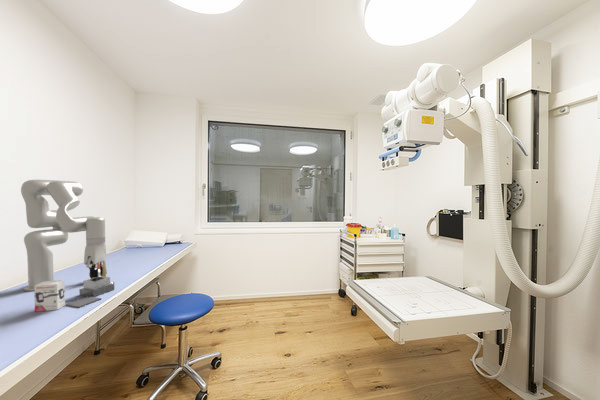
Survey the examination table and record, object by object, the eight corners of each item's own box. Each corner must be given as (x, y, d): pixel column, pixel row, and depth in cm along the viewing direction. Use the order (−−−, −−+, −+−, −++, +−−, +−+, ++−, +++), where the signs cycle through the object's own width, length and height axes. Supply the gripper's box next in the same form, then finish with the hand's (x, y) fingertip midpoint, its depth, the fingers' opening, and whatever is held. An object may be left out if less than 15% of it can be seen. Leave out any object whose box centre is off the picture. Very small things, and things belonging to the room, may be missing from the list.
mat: (66, 305, 108) (65, 304, 108) (88, 297, 116) (88, 296, 116) (79, 308, 105) (79, 306, 105) (101, 299, 114) (101, 298, 114)
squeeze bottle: (109, 279, 142) (108, 249, 141) (92, 283, 135) (91, 252, 135) (104, 276, 146) (103, 248, 146) (87, 281, 139) (86, 251, 139)
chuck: (79, 295, 119) (79, 281, 119) (106, 285, 131) (106, 273, 131) (93, 297, 116) (92, 283, 116) (119, 287, 128) (119, 274, 128)
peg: (91, 282, 120) (91, 262, 120) (95, 280, 123) (95, 261, 123) (98, 281, 121) (97, 262, 121) (101, 279, 124) (101, 260, 124)
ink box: (34, 312, 102) (33, 285, 101) (43, 307, 106) (42, 281, 106) (57, 309, 103) (56, 283, 103) (66, 304, 108) (65, 279, 108)
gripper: (97, 238, 129) (98, 271, 129) (75, 244, 113) (76, 282, 113) (113, 238, 131) (113, 270, 131) (93, 244, 114) (94, 281, 115)
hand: (96, 275), depth 122 cm, fingers closed on peg, 3 cm apart
